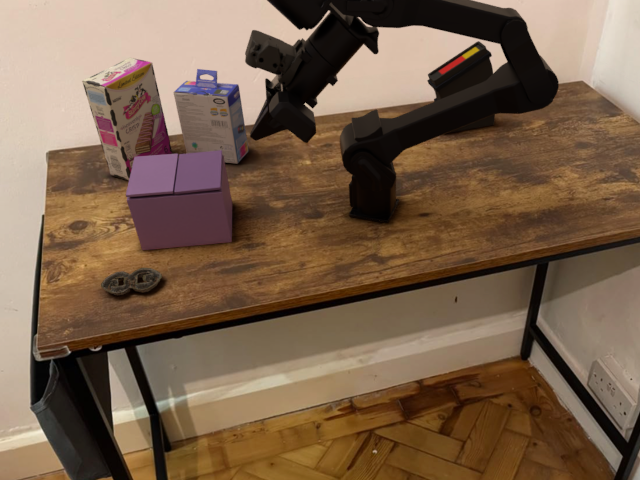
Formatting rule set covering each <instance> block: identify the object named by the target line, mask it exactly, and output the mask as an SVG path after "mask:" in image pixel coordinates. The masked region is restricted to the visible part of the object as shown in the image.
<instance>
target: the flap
mask: <svg viewBox="0 0 640 480" xmlns="http://www.w3.org/2000/svg"><path fill="white" fill-rule="evenodd" d="M178 158H179V160H178V168H177V175H176V183H175V190H174V193H175V194H182V193H192V192H202V191H212V190H221V174H222V150H218V151H208V152H198V153H187V154H186V153H178Z"/></svg>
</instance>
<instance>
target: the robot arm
mask: <svg viewBox="0 0 640 480" xmlns="http://www.w3.org/2000/svg"><path fill="white" fill-rule="evenodd" d="M266 1H267V2H268V3H269V4H270V5H271V6H273V7H274V8H275V9H276V10H277V11H278V12H279V13H280V14H281V15H282V16H283V17H284V18H286V19H287V20H288V21H289V22H290V23H291V24H292V25H293V26H294V27H295V28H296V29H297V30H299V31H301V30H303V29H304V30H305V31H309V30H313V32H312V33H311V34H310V35H309V36H308V38H307V39H306V40H305V39H304V38H298V39H297V41H295V43H294V44H293V45H292V44H291V43H287V42H285V41H284V40H282V39H280V38H277V37H275V36H272V35H269V34H267V33H264V32H262V31H260V30H257V29H252V30H251V32H250V35H249V39H248V43H247V44H246V45H247V46H246V49H245V52H244V55H245V58H244V62H245V64H246V65H247V66H248V67H251V68H253V69H260V70H263V71H265V72H268V73H271V74H273V75H275V76H274V77H273V79H272V80H270V79H269V78H266V77H265V78H264V85H265V86H264V87H265V100H264V103H263V105H262V106H261V109H260V111H259V113H258V116H257V118H256V120H255V122H254V124H253V126H252V128H251V131H249V137H250V138H251V139H252V140H253V141H256V142H257V141H259V140H261V139H265V138H267V137H269V136H272V135H275V134H277V133H280V132H283V131H287V130H288V131H289V132H290V133H292V134H293V135H294V136H296V137H297V138H298V139H299V140H301V141H302V142H303V143H305V144H308V143H309V142H310V141H311V140H312V139H313V138H314V136H315V135H316V134H317V122H316V118H315V112H314V111H313V110H312V109H314V108H315V107H317V105H318V103H319V102H318V97H319V95H320V94H321V93H322V92H323V91H324V90H325V89H326V88H327V87H328V85H330V86H332V87H334V86H335V85H336V84H337V82H339V80H338V76H337V75H338V74H339V73H340V72H341V71H342V69H343V68H344V67H345V66H346V65H347V64H348V62H350V60H352V58H353V57H354V56H355V54H357V53H358V51H359V50H360V49H361V48H362V47H363V46H365V47H366V48H367V49H368V50H369V51H370V52H371V54H373V55H378V54H379V51H380V50H379V36H380V31H379V29H378V28H382V29H383V28H385V29H386V28H387V29H401V28H407V27H425V28H429V29H434V30H437V31H442V32H446V33H451V34H455V35H459V36H464V37H468V38H472V39H477V40H480V41H485V42H489V43H493V44H498V45H500V48H501V51H502V53H503V56H504V58H505V59H506V62H505V63H503V64H501V65H500V66H499V67H498V68H497V69H496V70H495V71H493V74H492V75H491V76H490V77H489V78H488V79H487V80H486V81H484V82H482V83H480V84H477V85H475V86H472V87H470V88H467V89H465V90H462V91H460V92H457V93H455V94H452V95H450V96H447V97H445V98H443V99H440V100H438V101H435V102H434V101H433V102H430V103H428V104H425V105H422V106H420V107H417V108H416V109H413V110H410V111H408V112H406V113H402V114H400V115H398V116H394V117H380V115H379V111H378V110H377V109H373V110H371V111H369V112H367V113H366V114H364V115H362V116H358V117H351V118H350V120H351V122H350V123H348V124H347V125H345V126H344V127H343V128H342V131H341V133H340V135H339V147H340V148H339V149H340V154H341V161H342V166H343V168H344V169H345V170H346V172H348V173H349V174H350V175H351V180H350V182H349V183H348V201H349V207H350V208H351V209H350V211H349V212H348V215H349V217H350V218H356V219H361V220H366V221H367V220H368V221H372V222H379V223H384V224H388V223H389V222H390V221H391V219H392V217H393V215H394V213H395V211H396V210H397V208H398V206H399V204H400V199H398V198H397V172H396V169H395V165H394V161H395V160H396V159H397V158H398V157H399V156H400V155H401V154H402V153H403V152H404V151H406V150H409V149H410V148H413V147H415V146H418V145H420V144H423V143H425V142H427V141H430V140H433V139H436V138H438V137H440V136H443V135H445V134H449V133H448V132H451V131H453V130H456V129H459V128H461V127H464V126H466V125H469V124H471V123H474V122H476V121H479V120H481V119H484V118H487V117H489V116H492V115H494V114H495V115H498V114H502V115H503V114H506V115H522V114H526V113H530V112H535V111H539V110H542V109H543V110H544V109H545V108H547V107H549V106H550V105H551V104H552V103H553V102H554V99H555V97H556V96H557V94H558V91H559V86H560V85H559V82H560V81H559V78H558V75H556V73H555V71H553V69H552V68H551V67H550V65H549V63H547V61H546V60H545V59H544V58H543V56H541V55H540V53H539V51H538V48H537V47H536V44H535V43H534V41H533V39H532V36H531V33H530V31H529V30H528V29H529V27H528V24H527V22H526V21H525V19H524V18H523V16H522V15H521V14H520V13H519V12H518V11H517V10H516V9H514V8H513V7H501V6H496V5H493V4H488V3H485V2H480V1H478V0H477V1H476V0H266ZM328 12H329V13H328ZM327 13H328V14H327ZM326 14H327V15H326ZM314 28H315V29H314ZM307 105H308V106H309V107H310V108H311V109H310V108H309V107H308V106H307Z"/></svg>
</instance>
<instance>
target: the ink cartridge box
mask: <svg viewBox="0 0 640 480" xmlns="http://www.w3.org/2000/svg"><path fill="white" fill-rule="evenodd" d="M205 75H208V76H211V77H212V78H213V79H203V78H201V76H205ZM240 92H241V90H240V86H239V83H227V82H226V83H224V82H218V70H210V69H203V68H202V69H201V68H197V70H196V77H195V81H194V80H185V81H184V82H183V83H181V84H180V85H179V86H178V87H177V88H176V89H175V90H174V91H173V97H174V101H175V106H176V111H177V116H178V119H179V124H180V129H181V130H180V131H181V134H182V138H183V139H182V140H183V143H184V149H185V154H187V153H198V152H208V151H218V150H222V155H223V156H224V161H225V164H226V163H227V164H234V165H235V164H237V165H238V164H239V163H240V162H241V161H242V160H243V158H245V156H246V155H247V154H248V153H249V152H250V149H249V144H248V137H247V129H246V125H245V119H244V118H245V117H244V111H243V104H242V98H241V93H240Z"/></svg>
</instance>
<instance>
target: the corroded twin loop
mask: <svg viewBox="0 0 640 480" xmlns="http://www.w3.org/2000/svg"><path fill="white" fill-rule="evenodd" d="M162 277H163V276H162V273H161V272H160V271H159V270H156V269H154V268H152V267H140V268H137V269H135V270H134V271H132V272H131V273H128V272H126V271H123V270H121V271H115V272H114V273H111V274H109V275H108V276H106V277H105V278H104V279H103V280H102V281H101V283H100V287H101V288H102V289H103V290H104V291H105V292H107V293H109V294H111V295H114V296H124V294H127V293H129V292H130V291H131V290H132V289H133V291H135V292H137V293H138V292H139V293H143V294H144V293H149V291H151V290H153V289H154V288H157V286H158V284H159V283H160V281H161V279H162ZM140 278H142V280H143V281H144V282H138V279H140ZM119 281H123V285H119Z"/></svg>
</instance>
